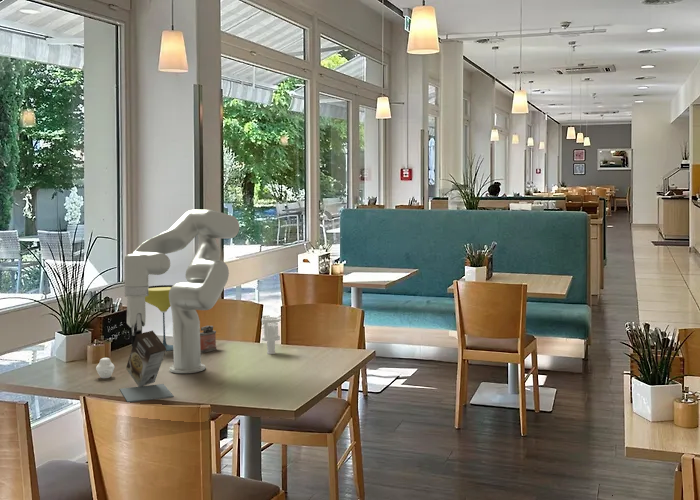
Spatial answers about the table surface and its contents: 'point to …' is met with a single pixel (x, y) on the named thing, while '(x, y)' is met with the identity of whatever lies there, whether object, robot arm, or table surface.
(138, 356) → the coffee box
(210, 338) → the lighter
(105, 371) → the white rounded jar
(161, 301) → the cocktail glass
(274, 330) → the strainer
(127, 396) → the rubber mat
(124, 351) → the table surface
